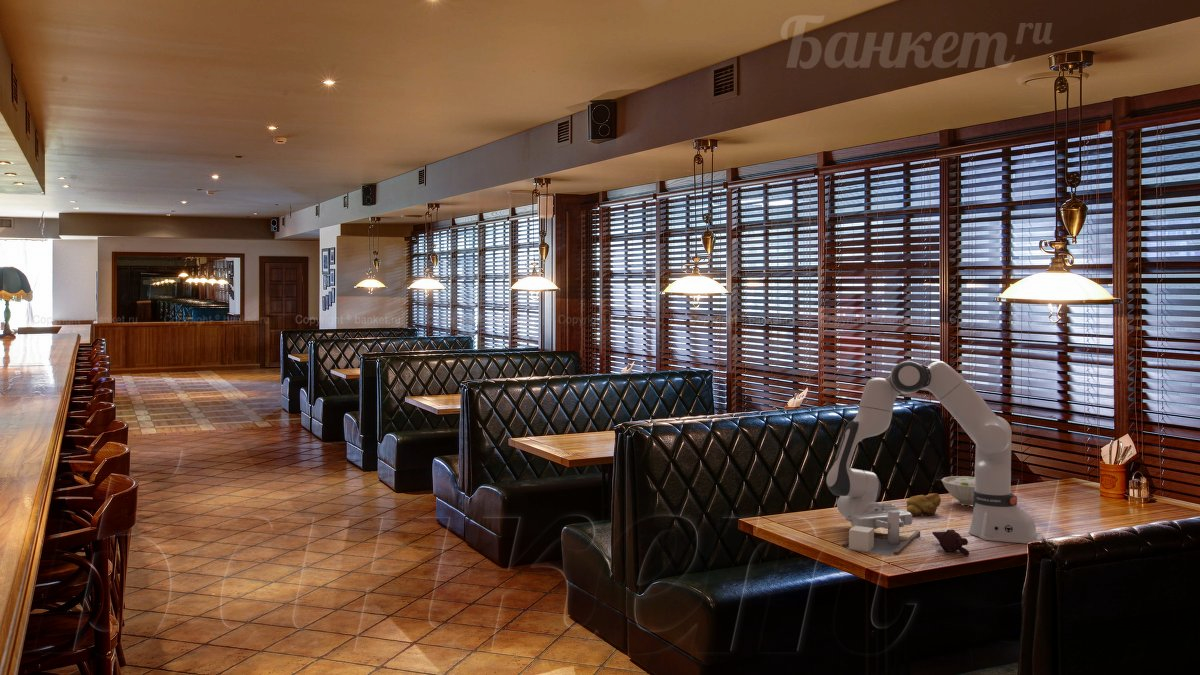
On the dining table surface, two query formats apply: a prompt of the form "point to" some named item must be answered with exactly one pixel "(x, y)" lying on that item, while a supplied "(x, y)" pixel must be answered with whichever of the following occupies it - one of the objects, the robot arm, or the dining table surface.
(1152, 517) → the dining table surface
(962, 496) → the bowl
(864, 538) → the block
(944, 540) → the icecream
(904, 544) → the rails
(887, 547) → the board
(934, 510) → the bread roll
